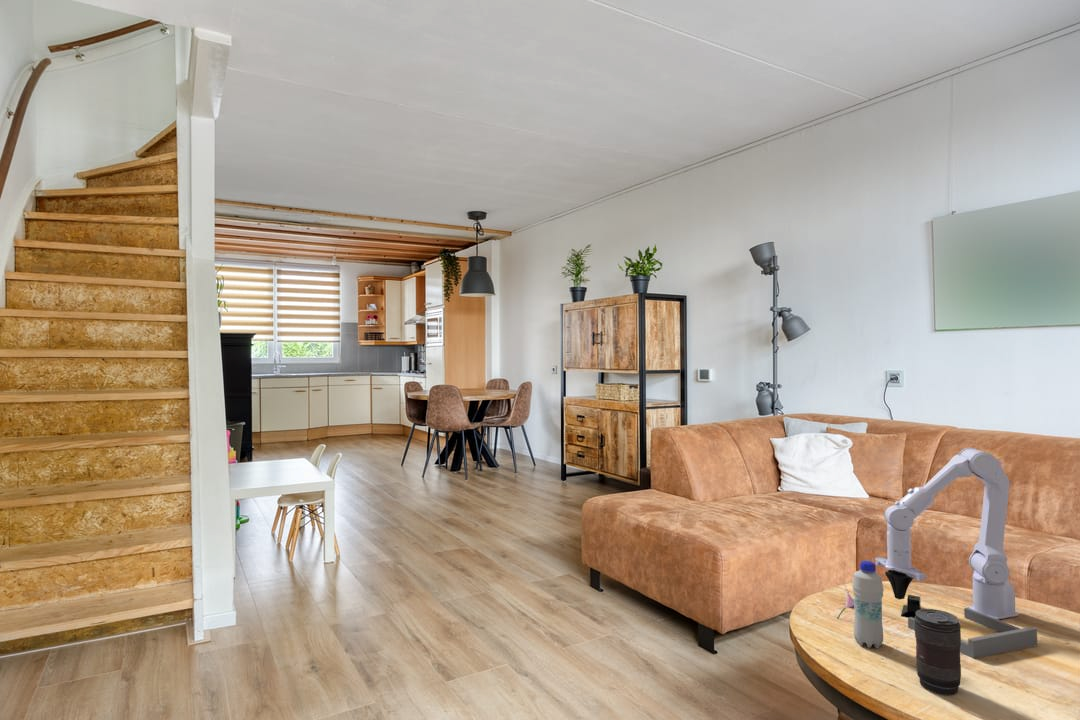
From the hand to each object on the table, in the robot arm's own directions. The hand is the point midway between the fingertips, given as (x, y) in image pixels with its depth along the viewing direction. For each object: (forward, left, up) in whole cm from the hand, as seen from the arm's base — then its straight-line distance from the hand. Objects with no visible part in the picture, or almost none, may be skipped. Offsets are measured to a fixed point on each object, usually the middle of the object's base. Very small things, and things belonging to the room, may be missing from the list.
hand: (899, 598), depth 170 cm
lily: (+20, +4, -2) cm, 20 cm away
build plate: (+1, +5, -3) cm, 6 cm away
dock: (0, +20, -2) cm, 20 cm away
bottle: (+27, +16, -2) cm, 31 cm away
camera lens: (+29, +36, -2) cm, 46 cm away
